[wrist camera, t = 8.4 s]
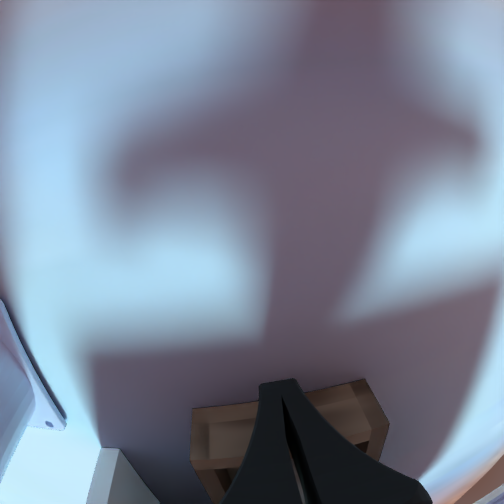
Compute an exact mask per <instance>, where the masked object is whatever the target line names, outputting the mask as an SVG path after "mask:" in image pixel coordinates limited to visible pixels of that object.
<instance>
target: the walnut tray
mask: <svg viewBox="0 0 504 504" xmlns="http://www.w3.org/2000/svg"><path fill="white" fill-rule="evenodd" d="M305 395H306V396H307V398H308V399H309V400H310V402H311V403H312V404H313V405H314V407H315V408H316V409H317V410H318V411H319V412H320V413H321V415H322V416H323V417H324V418H325V419H326V420H327V421H328V422H329V423H330V424H331V425H332V426H333V427H334V428H335V429H336V430H337V431H338V432H339V433H340V434H341V435H342V436H343V437H345V438H346V439H347V440H348V441H349V442H351V443H352V444H353V445H354V446H356V447H357V448H359V449H360V450H361V451H363V452H364V453H365V454H367V455H369V456H370V457H372V458H373V459H375V460H377V461H378V462H379V458H380V455H381V452H382V449H383V445H384V442H385V439H386V435H387V431H388V428H389V424H390V423H389V421H388V419H387V418H386V416H385V414H384V412H383V410H382V409H381V407H380V405H379V403H378V401H377V399H376V398H375V396H374V394H373V392H372V391H371V389H370V387H369V385H368V383H367V382H366V380H365V379H362V380H359V381H355V382H351V383H347V384H343V385H339V386H334V387H330V388H326V389H321V390H317V391H312V392H307V393H305ZM258 403H259V401H256V402H249V403H241V404H234V405H225V406H216V407H206V408H195V409H193V410H192V425H191V441H190V460H189V461H190V463H191V465H192V466H193V468H194V470H195V472H196V474H197V476H198V478H199V479H200V481H201V483H202V485H203V487H204V488H205V490H206V492H207V494H208V495H209V497H210V499H211V501H212V502H213V504H219V503H220V501H221V500H222V498H223V497H224V495H225V493H226V492H227V490H228V489H229V487H230V485H231V483H232V481H233V480H234V478H235V476H236V474H237V472H238V469H239V467H240V465H241V463H242V461H243V458H244V456H245V453H246V451H247V448H248V445H249V442H250V439H251V435H252V432H253V429H254V425H255V420H256V415H257V410H258ZM286 441H287V440H286ZM287 446H288V443H287ZM288 450H289V454H290V458H291V462H292V466H293V470H294V474H295V478H296V481H297V485H298V489H299V492H300V496H301V499H302V503H303V504H305V499H304V494H303V490H302V486H301V483H300V479H299V476H298V473H297V471H296V468H295V465H294V462H293V459H292V456H291V453H290V449H289V446H288Z"/></svg>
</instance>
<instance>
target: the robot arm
mask: <svg viewBox="0 0 504 504" xmlns="http://www.w3.org/2000/svg"><path fill="white" fill-rule="evenodd" d="M27 426H30V427H36V428H43V429H51V430H59V431H62V430H64V429H65V427H66V421H65V420H64V418H63V417H62V415H61V414H60V412H59V411H58V409H57V407H56V406H55V404H54V403H53V401H52V399H51V398H50V396H49V394H48V393H47V391H46V389H45V388H44V386H43V384H42V382H41V381H40V379H39V377H38V375H37V373H36V372H35V370H34V368H33V366H32V364H31V362H30V360H29V358H28V356H27V354H26V352H25V350H24V348H23V346H22V344H21V342H20V340H19V338H18V336H17V333H16V331H15V329H14V327H13V325H12V322H11V320H10V318H9V315H8V313H7V310H6V308H5V305H4V303H3V301H2V300H1V299H0V483H1V480H2V478H3V476H4V474H5V471H6V469H7V467H8V465H9V462H10V460H11V458H12V456H13V454H14V452H15V450H16V447H17V445H18V443H19V441H20V439H21V437H22V435H23V433H24V431H25V429H26V427H27ZM286 440H287V441H286ZM287 443H288V446H289V449H290V453H291V456H292V459H293V462H294V465H295V468H296V471H297V473H298V476H299V479H300V483H301V486H302V490H303V494H304V499H305V504H433V502H432V500H431V497H430V496H429V494H428V492H427V491H426V490H425V488H424V487H423V486H422V485H421V483H420V482H419V481H417V480H415V479H412V478H410V477H407V476H405V475H403V474H401V473H399V472H396V471H394V470H393V469H391V468H389V467H387V466H385V465H383V464H381V463H380V462H378V461H377V460H375V459H373V458H372V457H370V456H369V455H367V454H365V453H364V452H363V451H361V450H360V449H359V448H357V447H356V446H354V445H353V444H352V443H351V442H349V441H348V440H347V439H346V438H345V437H343V436H342V435H341V434H340V433H339V432H338V431H337V430H336V429H335V428H334V427H333V426H332V425H331V424H330V423H329V422H328V421H327V420H326V419H325V418H324V417H323V416H322V415H321V413H320V412H319V411H318V410H317V409H316V408H315V407H314V405H313V404H312V403H311V402H310V400H309V399H308V398H307V396H306V395H305V393H304V392H303V390H302V389H301V387H300V386H299V384H298V382H297V380H295V379H294V378H292V379H286V380H281V381H275V382H269V383H262V384H261V385H260V386H259V403H258V410H257V415H256V420H255V425H254V429H253V432H252V435H251V439H250V442H249V445H248V448H247V451H246V453H245V456H244V458H243V461H242V463H241V465H240V467H239V469H238V472H237V474H236V476H235V478H234V480H233V481H232V483H231V485H230V487H229V489H228V490H227V492H226V493H225V495H224V497H223V498H222V500H221V501H220V503H219V504H303V503H302V499H301V496H300V492H299V489H298V485H297V481H296V478H295V474H294V470H293V466H292V462H291V458H290V454H289V450H288V446H287ZM486 504H504V492H503V493H501V494H500V495H498V496H497V497H495V498H494V499H492V500H491V501H489V502H488V503H486Z"/></svg>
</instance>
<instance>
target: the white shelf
mask: <svg viewBox="0 0 504 504" xmlns="http://www.w3.org/2000/svg"><path fill="white" fill-rule="evenodd" d="M503 492H504V484H503V485H502V486H500V487H498V488H497V489H495V490H494V491H492V492H491V493H489V494H488V495H486V496H485V497H483V498H481V499H480V500H478V501H477V502H475V503H473V504H486V503H488V502H489V501H491V500H492V499H494V498H495V497H497V496H498V495H500V494H501V493H503ZM86 504H161V503H160V502H159V500H158V499H157V498H156V497H155V496H154V494H153V493H152V492H151V491H150V489H149V488H148V487H147V486H146V484H145V483H144V482H143V481H142V479H141V478H140V477H139V475H138V474H137V473H136V471H135V470H134V469H133V467H132V466H131V464H130V463H129V462H128V460H127V459H126V457H125V456H124V455H123V453H122V452H121V450H120V449H117V448H101V449H100V453H99V456H98V460H97V463H96V467H95V471H94V474H93V478H92V482H91V486H90V489H89V493H88V497H87V501H86Z"/></svg>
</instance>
